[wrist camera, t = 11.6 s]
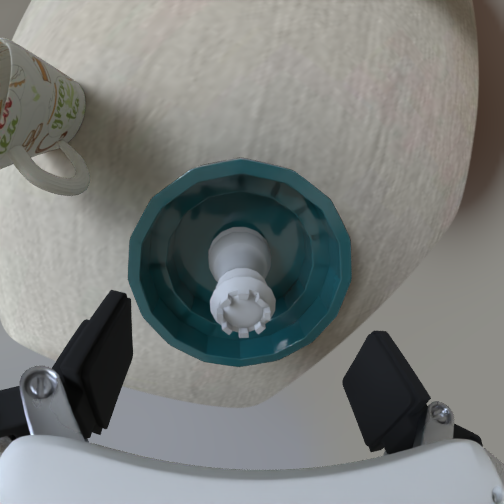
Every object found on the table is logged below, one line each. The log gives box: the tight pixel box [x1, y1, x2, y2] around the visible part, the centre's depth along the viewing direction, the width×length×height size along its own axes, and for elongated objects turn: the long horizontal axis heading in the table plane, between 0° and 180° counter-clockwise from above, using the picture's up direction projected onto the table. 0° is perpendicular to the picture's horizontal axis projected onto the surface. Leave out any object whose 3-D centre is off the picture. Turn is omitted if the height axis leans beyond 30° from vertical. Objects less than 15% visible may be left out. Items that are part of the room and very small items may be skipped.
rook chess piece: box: [208, 227, 276, 338], centre depth 16 cm, size 4×4×8 cm
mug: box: [0, 38, 90, 196], centre depth 11 cm, size 8×13×10 cm, turn 43°
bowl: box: [128, 157, 352, 367], centre depth 18 cm, size 14×14×5 cm
